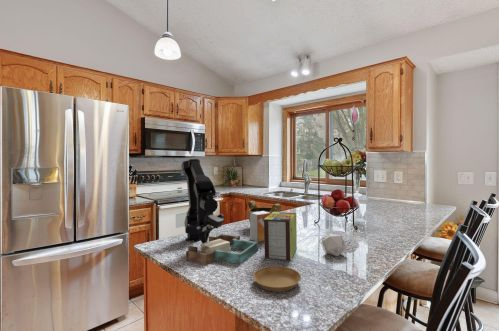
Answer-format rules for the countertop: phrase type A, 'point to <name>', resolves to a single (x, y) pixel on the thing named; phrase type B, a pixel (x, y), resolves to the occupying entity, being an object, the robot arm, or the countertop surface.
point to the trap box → (224, 255)
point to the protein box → (280, 235)
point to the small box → (257, 225)
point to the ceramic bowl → (262, 208)
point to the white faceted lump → (334, 244)
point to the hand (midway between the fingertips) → (204, 245)
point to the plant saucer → (277, 278)
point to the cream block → (215, 246)
